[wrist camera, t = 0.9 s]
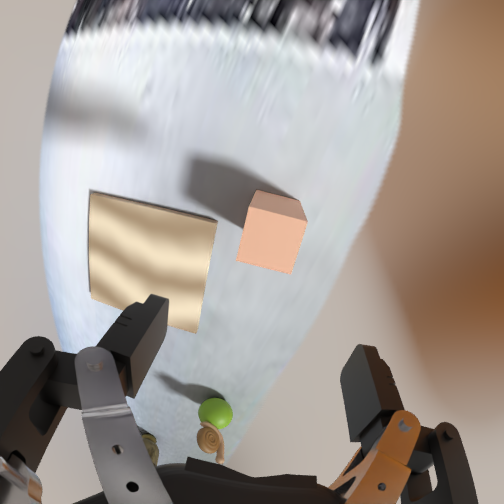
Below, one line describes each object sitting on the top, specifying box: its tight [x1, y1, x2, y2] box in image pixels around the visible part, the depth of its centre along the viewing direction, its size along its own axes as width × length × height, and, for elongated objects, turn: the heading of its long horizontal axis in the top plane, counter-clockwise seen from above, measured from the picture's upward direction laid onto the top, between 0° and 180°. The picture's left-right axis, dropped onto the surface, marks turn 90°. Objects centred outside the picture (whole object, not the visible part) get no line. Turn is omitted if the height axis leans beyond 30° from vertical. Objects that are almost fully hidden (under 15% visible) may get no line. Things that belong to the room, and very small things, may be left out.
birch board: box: [89, 193, 218, 333], centre depth 32 cm, size 15×16×1 cm
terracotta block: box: [236, 190, 308, 274], centre depth 26 cm, size 5×5×8 cm
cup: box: [141, 433, 159, 467], centre depth 46 cm, size 8×7×8 cm
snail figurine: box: [197, 398, 233, 465], centre depth 36 cm, size 5×6×12 cm
